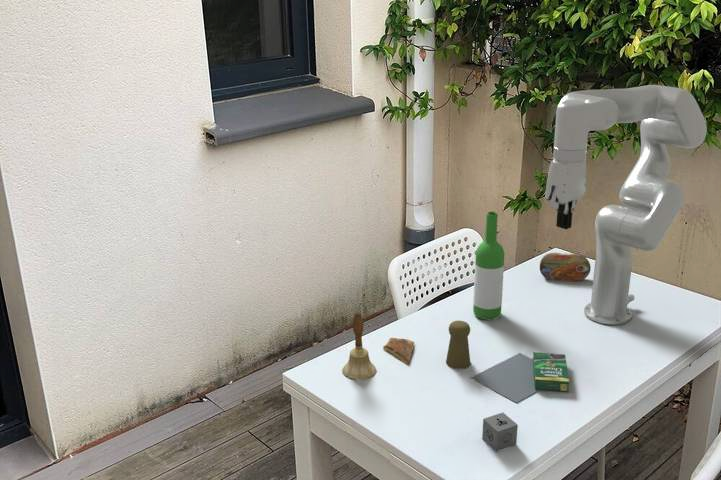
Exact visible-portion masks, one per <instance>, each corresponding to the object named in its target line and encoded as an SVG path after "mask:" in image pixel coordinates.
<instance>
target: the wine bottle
mask: <svg viewBox="0 0 721 480" xmlns="http://www.w3.org/2000/svg"><path fill="white" fill-rule="evenodd" d="M498 215H499V214H498V213H497V212H496V211H488V212H486V216H485V217H486V219H485V237H484V238H485V239H484V240H483V241H482V242H481V243H480V244H479V245H478V246H477V249H476V252H475V259H474V260H475V261H474V278H473V281H474V282H473V283H474V284H473V303H472V304H473V307H472V311H473V314H474V315H475V317H476V318H478V319H481V320H482V319H483V320H495V319H498V318H499V317H500V316H501V314H502V306H503V305H502V304H503V290H504V289H503V287H504V286H503V285H504V270H505V250H504V248H503V246H502V245H501V243H500V242H498V240H497V237H498V236H497V235H498V233H497V232H498V217H499V216H498Z"/></svg>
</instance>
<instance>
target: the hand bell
mask: <svg viewBox="0 0 721 480" xmlns="http://www.w3.org/2000/svg"><path fill="white" fill-rule="evenodd" d="M352 330H353V333H354V337H355V338H354V339H355V340H354V342H355V343H354V345H355V347H354V348H352V349H351V350H350V351H349V357H348V361H347V363H345V364H344V366H343V367H342V369H341V370H342V374H343V375H344V376H345V377H346V376H347V377H346V378H348V377H349V379H350V378H353V379H352V380H355V379H363V380H366V379H365V378H368V379H370V378H372V377H373V376H375V375H376V373H377V367H376V366H375V365H374V363H372V361H371V359H370V356H369V350H368V349H367V348H365V347H363V339H362V336H363V332H364V319H363V317H362V313H361V312H360V311H355V312H354V316H353V319H352ZM374 374H375V375H374Z"/></svg>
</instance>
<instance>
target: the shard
mask: <svg viewBox="0 0 721 480" xmlns="http://www.w3.org/2000/svg"><path fill="white" fill-rule="evenodd" d="M414 345H415V340H414V341H413V340H410V339H407V338H406V339H405V338H396V337H390V338H389V339H388V341H387V342H386V344H385V345H383V346H382V347H383V348H382V349H383V350H384V349H385V351H386V352H388V353H391V354H392V355H393V354H394V355H393V356H394V357H396V358H397V357H398V358H397V359H398V360H400V361H401V360H402V361H401V362H403V363H406V364H407V365H409V364H410V360H411V359H410V358H411V355H412V352H413V349H414Z"/></svg>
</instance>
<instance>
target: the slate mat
mask: <svg viewBox="0 0 721 480" xmlns="http://www.w3.org/2000/svg"><path fill="white" fill-rule="evenodd" d="M470 379H471V380H473V381H475V382H477V383H479V384H480V385H481V386H482V385H483V386H484V387H486V388H488V389H490V390H491V391H494V393H497V394H499V395H500V396H502V397H504V398H506V399H508V400H509V401H512V402H513V403H515V404H518V403H520V402H522V401H523V400H525V399H527V398H528V397H531V396H532V395H534V394H536V393H537V392H539V391H541V389H535V386H534V373H533V357H532V358H531V357H529V356H527V355H525V354H523V353H521V352H519V353H517V354H515V355H513V356H510V357H509V358H507V359H504V360H503V361H501V362H499V363H497V364H495V365H493V366H490V367H489V368H487V369H485V370H483V371H481V372H479V373H477V374H475V375H473V376H471V377H470Z"/></svg>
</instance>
